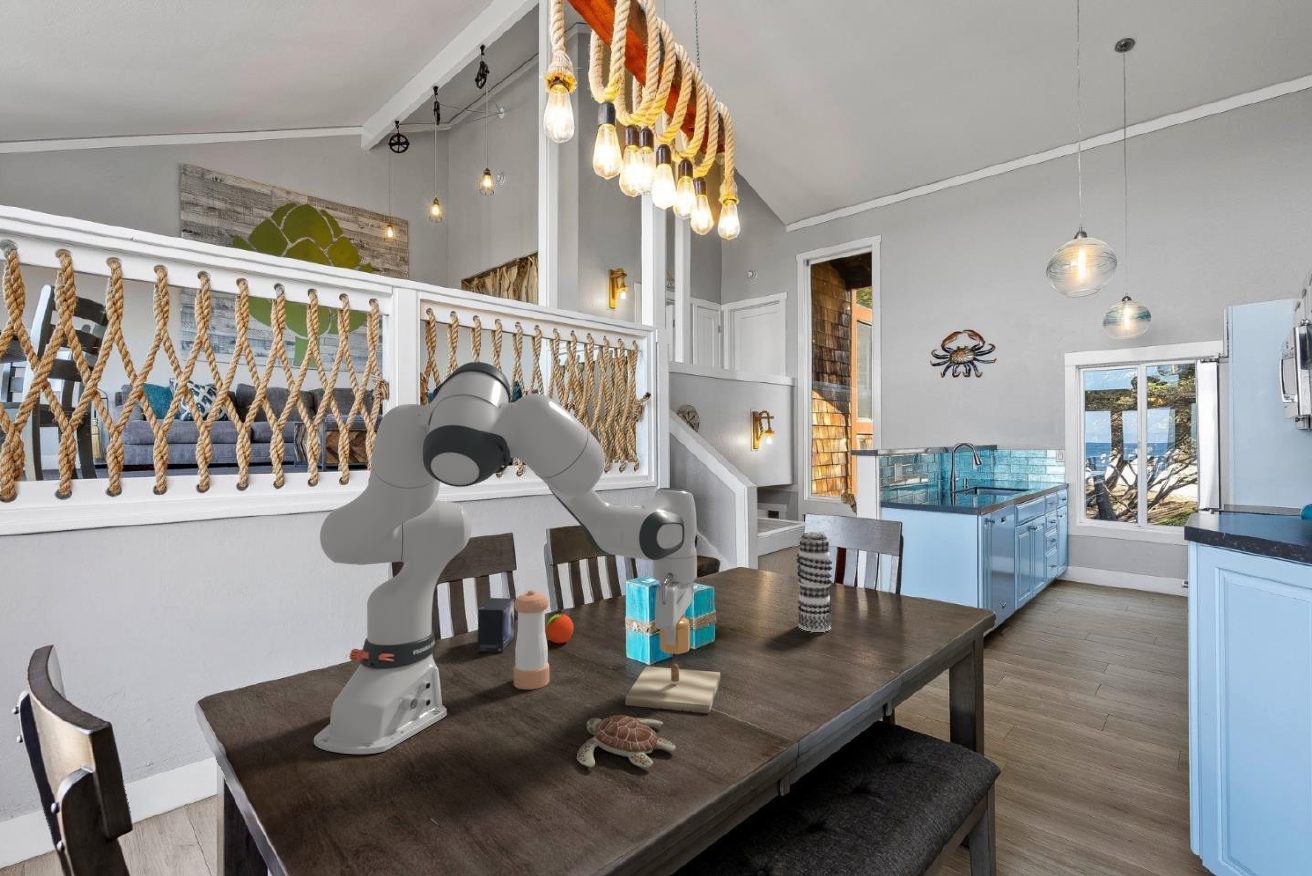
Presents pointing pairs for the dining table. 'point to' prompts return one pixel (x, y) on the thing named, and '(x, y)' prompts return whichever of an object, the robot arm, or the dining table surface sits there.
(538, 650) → the salt shaker
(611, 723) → the decorative turtle
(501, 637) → the small box
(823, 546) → the decorative candle
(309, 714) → the dining table surface
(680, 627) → the tan rounded cylinder
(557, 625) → the clementine
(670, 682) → the square peg board
